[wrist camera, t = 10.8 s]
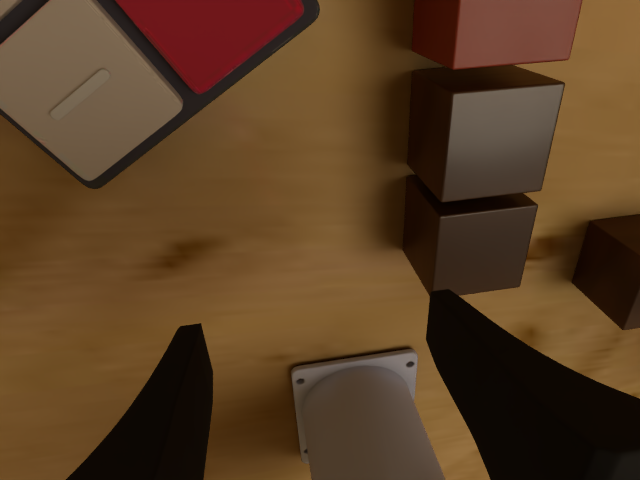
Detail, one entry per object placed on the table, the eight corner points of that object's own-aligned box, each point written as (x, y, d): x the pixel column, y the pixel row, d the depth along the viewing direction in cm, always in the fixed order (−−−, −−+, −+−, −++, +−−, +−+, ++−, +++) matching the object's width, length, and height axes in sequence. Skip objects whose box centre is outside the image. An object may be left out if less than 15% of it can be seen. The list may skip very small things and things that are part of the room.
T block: (493, 155, 22) (544, 191, 19) (406, 164, 22) (440, 203, 18) (508, 61, 20) (569, 81, 16) (411, 70, 20) (451, 92, 16)
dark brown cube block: (480, 240, 25) (522, 287, 21) (402, 250, 25) (431, 300, 21) (491, 166, 23) (541, 204, 19) (405, 175, 22) (439, 216, 19)
